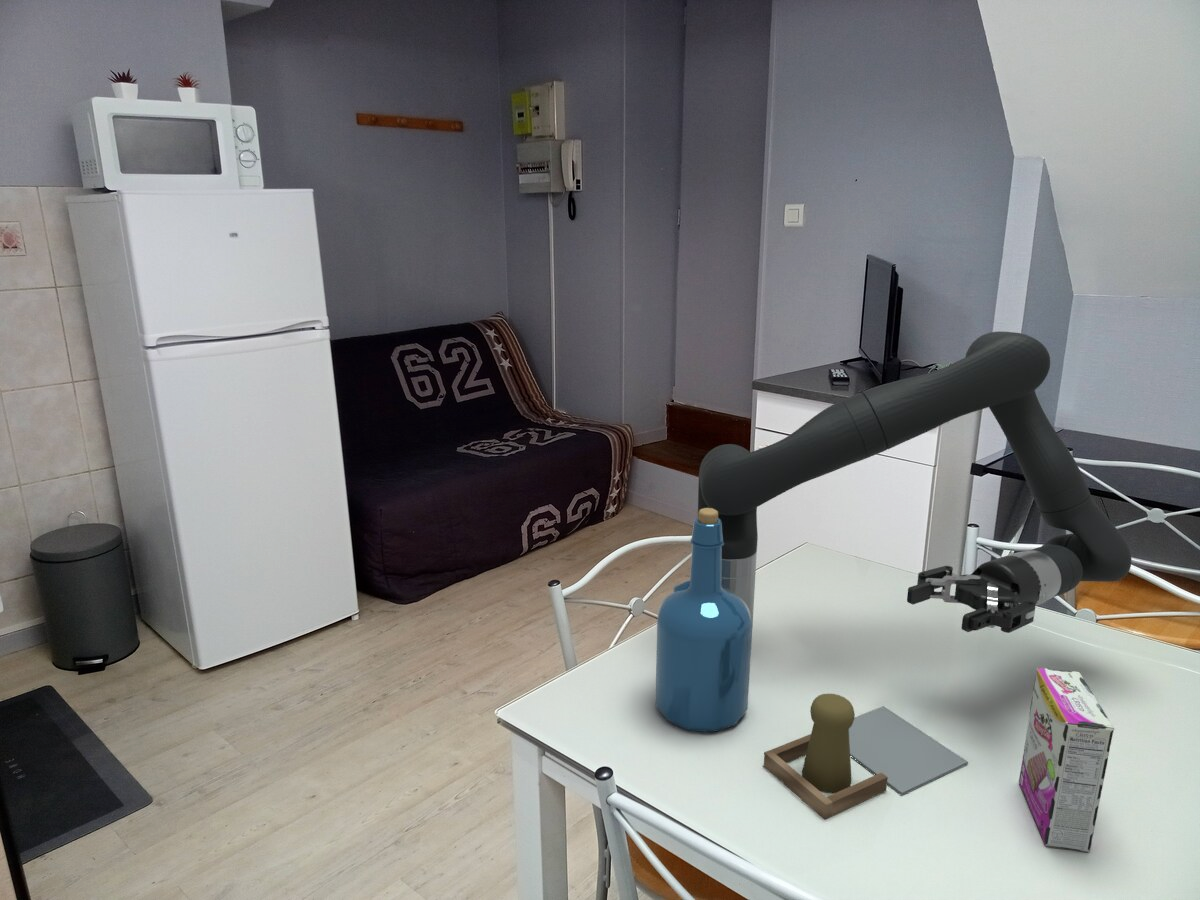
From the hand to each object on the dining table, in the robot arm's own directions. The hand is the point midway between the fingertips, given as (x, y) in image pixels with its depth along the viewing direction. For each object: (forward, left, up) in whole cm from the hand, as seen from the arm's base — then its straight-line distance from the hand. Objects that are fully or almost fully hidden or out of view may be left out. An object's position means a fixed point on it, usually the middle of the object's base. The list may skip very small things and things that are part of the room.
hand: (936, 609), depth 106 cm
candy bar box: (+18, +1, -19) cm, 26 cm away
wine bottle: (-20, -22, -19) cm, 35 cm away
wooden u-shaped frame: (0, -17, -19) cm, 25 cm away
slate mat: (0, -5, -19) cm, 20 cm away
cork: (0, -17, -19) cm, 25 cm away
